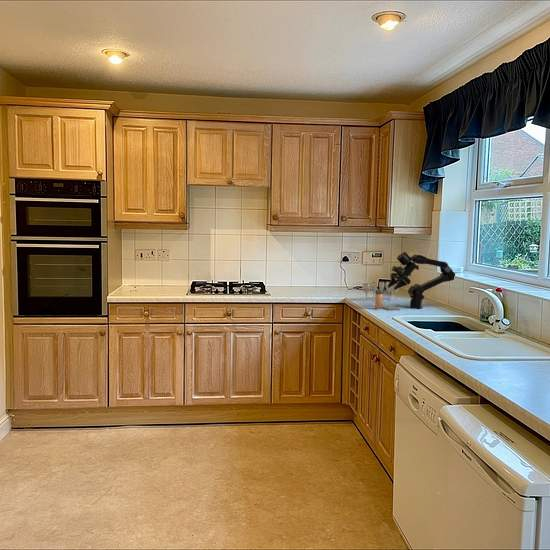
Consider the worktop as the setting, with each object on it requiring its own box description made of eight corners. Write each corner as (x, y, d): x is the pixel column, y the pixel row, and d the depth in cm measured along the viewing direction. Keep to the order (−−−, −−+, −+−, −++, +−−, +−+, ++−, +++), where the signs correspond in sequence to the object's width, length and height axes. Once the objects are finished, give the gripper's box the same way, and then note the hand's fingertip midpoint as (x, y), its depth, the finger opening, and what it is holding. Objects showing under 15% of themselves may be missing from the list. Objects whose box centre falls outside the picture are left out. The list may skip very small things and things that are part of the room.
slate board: (391, 306, 340) (392, 305, 340) (400, 310, 329) (400, 308, 329) (380, 307, 339) (380, 306, 338) (388, 310, 327) (388, 309, 327)
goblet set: (396, 299, 372) (397, 281, 371) (400, 300, 367) (401, 282, 365) (360, 300, 365) (361, 281, 363) (364, 302, 359) (364, 282, 358)
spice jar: (383, 308, 333) (384, 290, 331) (380, 309, 329) (381, 291, 327) (376, 308, 335) (377, 289, 334) (373, 309, 331) (374, 290, 330)
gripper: (393, 260, 341) (377, 277, 340) (406, 262, 323) (389, 281, 322) (404, 271, 343) (388, 289, 342) (417, 275, 325) (401, 293, 324)
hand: (391, 288), depth 332 cm, fingers open, 9 cm apart
